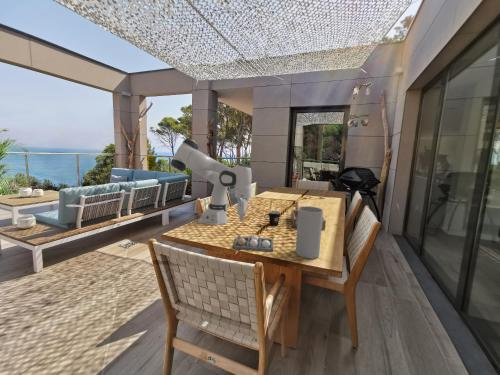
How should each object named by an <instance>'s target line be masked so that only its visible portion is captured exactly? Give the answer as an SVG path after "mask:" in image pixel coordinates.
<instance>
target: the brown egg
mask: <svg viewBox="0 0 500 375" xmlns="http://www.w3.org/2000/svg"><path fill="white" fill-rule="evenodd" d="M245 242H246V241H245V239H244V238H239V239H238V245H240V246H243V245H245Z"/></svg>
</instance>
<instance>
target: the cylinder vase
mask: <svg viewBox="0 0 500 375" xmlns="http://www.w3.org/2000/svg"><path fill="white" fill-rule="evenodd" d="M297 211H298V223H297V228H296V239H295V254H296V255H298V256H299V257H302V258H304V259H310V260H313V259H317V258H319V256H320V250H321V238H322V230H321V229H322V217H323V215H324V210H323V209H322V208H320V207H316V206H310V205H309V206H307V205H306V206H303V205H302V206H299V207H298V209H297ZM323 218H324V217H323Z"/></svg>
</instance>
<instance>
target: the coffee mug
mask: <svg viewBox="0 0 500 375" xmlns="http://www.w3.org/2000/svg"><path fill="white" fill-rule="evenodd" d="M266 216H268V218H269V219H267V218H266ZM263 217H264V219H265V220H266V221H267V222H268V223H269V226H271V227H278V226H279V223H280V217H281V212H280V211H279V210H269V211H268V213H266V214H265V215H264V216H263Z"/></svg>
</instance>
